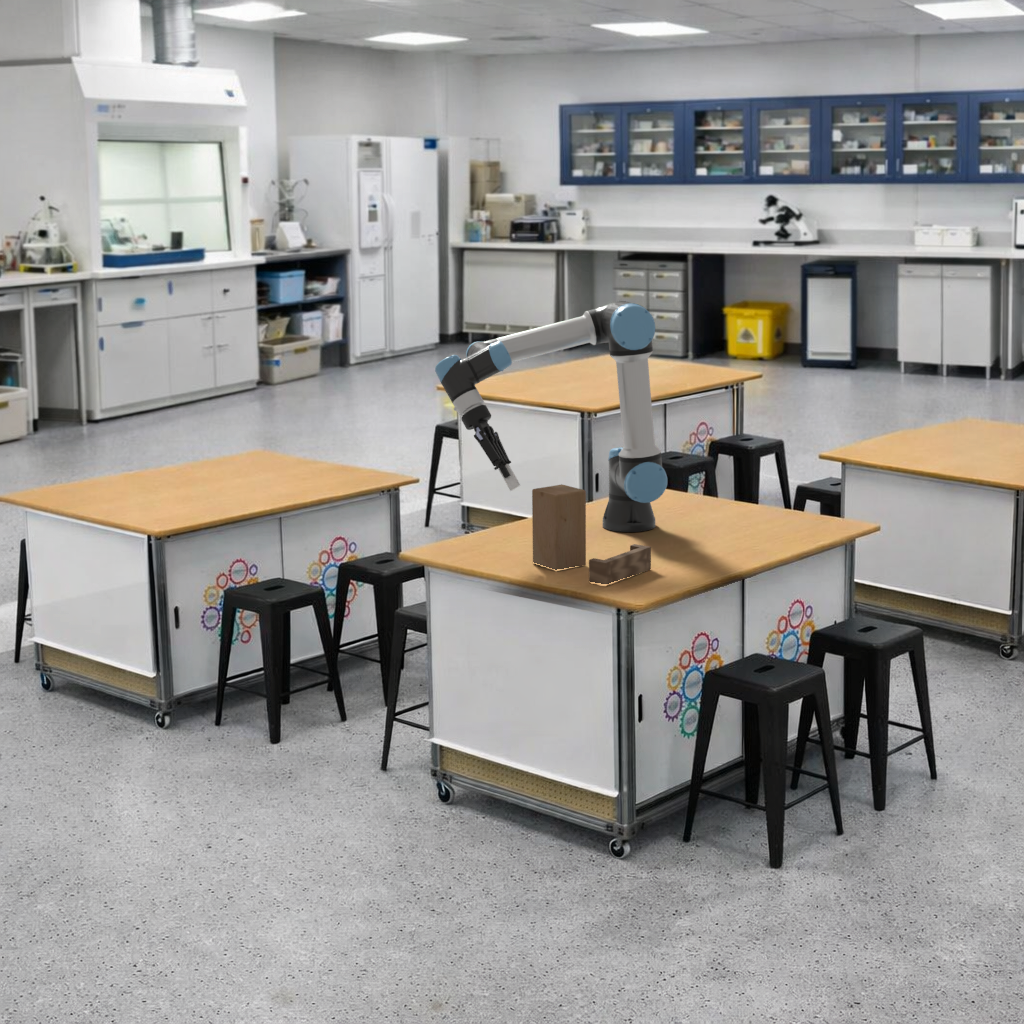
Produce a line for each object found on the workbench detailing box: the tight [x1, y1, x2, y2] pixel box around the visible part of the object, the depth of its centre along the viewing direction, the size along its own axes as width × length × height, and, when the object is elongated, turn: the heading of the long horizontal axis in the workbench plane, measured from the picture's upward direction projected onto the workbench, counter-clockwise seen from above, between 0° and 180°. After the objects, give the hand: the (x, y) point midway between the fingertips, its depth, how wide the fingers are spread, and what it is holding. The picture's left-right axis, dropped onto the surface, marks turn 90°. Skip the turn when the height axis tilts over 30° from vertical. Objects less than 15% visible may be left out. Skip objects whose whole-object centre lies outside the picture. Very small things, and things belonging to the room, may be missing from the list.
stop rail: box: [588, 543, 652, 584], centre depth 359 cm, size 20×5×6 cm, turn 142°
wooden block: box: [531, 483, 587, 570], centre depth 369 cm, size 10×10×20 cm
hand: (515, 487), depth 377 cm, fingers closed
